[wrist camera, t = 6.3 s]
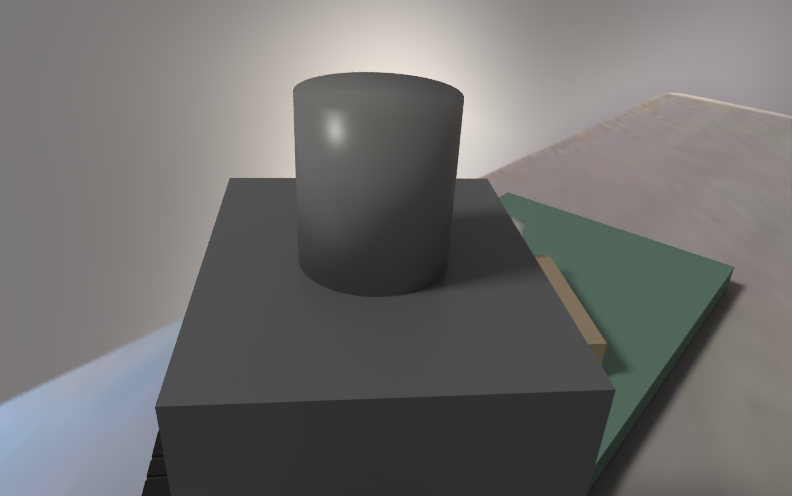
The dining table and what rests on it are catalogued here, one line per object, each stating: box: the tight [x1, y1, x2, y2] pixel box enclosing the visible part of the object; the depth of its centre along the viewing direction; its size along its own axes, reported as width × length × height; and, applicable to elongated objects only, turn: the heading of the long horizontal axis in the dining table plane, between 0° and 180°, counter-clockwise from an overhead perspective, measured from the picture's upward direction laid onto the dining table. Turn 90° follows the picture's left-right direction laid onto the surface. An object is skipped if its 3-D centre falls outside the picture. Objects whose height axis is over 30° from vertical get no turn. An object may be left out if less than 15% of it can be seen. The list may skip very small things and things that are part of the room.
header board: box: [499, 193, 734, 494], centre depth 25 cm, size 20×12×4 cm, turn 141°
